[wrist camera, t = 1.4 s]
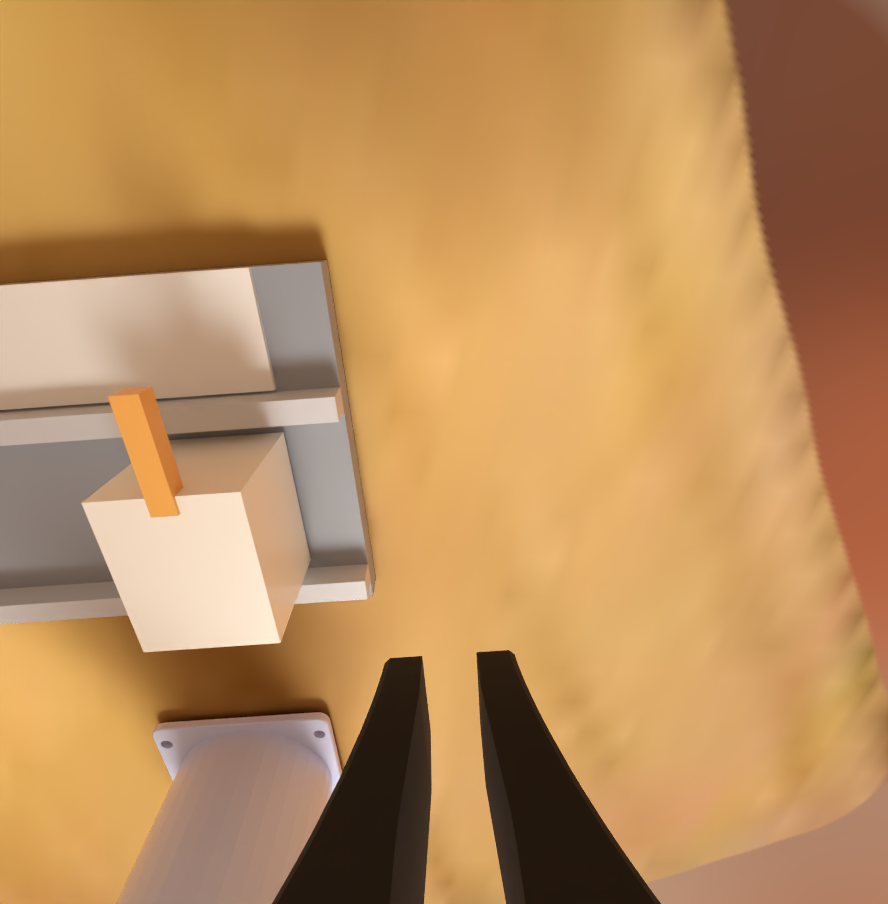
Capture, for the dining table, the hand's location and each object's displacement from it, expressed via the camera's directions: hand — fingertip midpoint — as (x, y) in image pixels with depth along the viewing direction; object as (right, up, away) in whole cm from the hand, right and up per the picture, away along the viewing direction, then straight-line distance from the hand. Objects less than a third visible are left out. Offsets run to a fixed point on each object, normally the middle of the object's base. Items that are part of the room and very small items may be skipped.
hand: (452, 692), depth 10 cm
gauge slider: (-7, +4, +7) cm, 11 cm away
